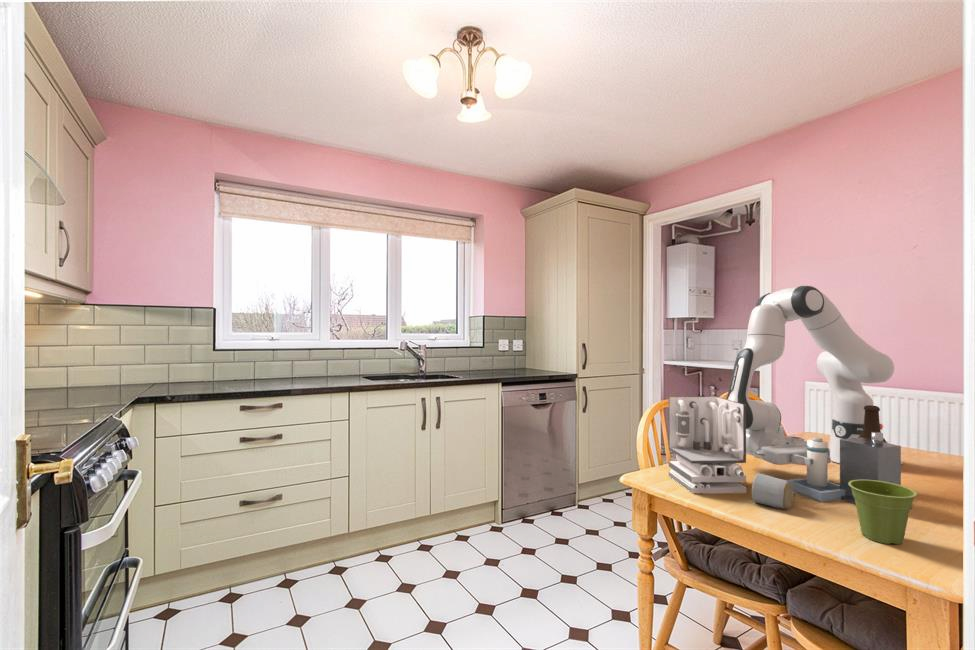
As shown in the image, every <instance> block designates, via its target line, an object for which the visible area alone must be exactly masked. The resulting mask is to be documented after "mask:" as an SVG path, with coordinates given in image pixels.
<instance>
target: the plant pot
mask: <svg viewBox="0 0 975 650" xmlns="http://www.w3.org/2000/svg"><path fill="white" fill-rule="evenodd" d="M848 485H849V486H850V487H851V489H852V493H853V496H854V498H855V503H856V505H855V507H856V512H857V517H858V523H859V526H860V531H861V534H862V535H863V536H865V538H867V539H869V540H871V541H873V542H878V543H880V544H886V545H887V544H888V545H889V544H894V545H900V544H903V543H904V540H905V534H906V530H907V524H908V519H909V515H910V510H911V509H910V507H911V508H912V505H913V503H914V502H913V501H914V498H916V497H918V493H917V492H916V491H915V490H913V489H912V488H909V487H906V486H904V485H902V484H901V485H897V484H893V483H889V482H883V481H877V480H852V481H849V483H848Z"/></svg>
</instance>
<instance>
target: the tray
mask: <svg viewBox="0 0 975 650" xmlns="http://www.w3.org/2000/svg"><path fill="white" fill-rule="evenodd" d="M785 481H787V482H789V483H791V485H792V487H793V493H795V494H799V495H800V494H801V496H804V497H806V498H810V499H811V500H813V501H817V502H819V503H827V502H834V501H842V500H841V496H845V490H844V489H840V484H838V483H835V482H831V481H829V480H828V486H825V487H820V486H814V485H810V484H808V483H807V477H805V478H795V479H794V478H793V479H786V480H785Z"/></svg>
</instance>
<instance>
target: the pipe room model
mask: <svg viewBox="0 0 975 650" xmlns="http://www.w3.org/2000/svg"><path fill="white" fill-rule="evenodd" d="M668 451H671V452H672V453H674V454H676V456H675V457H676V460H674V461H673V460H670V461H668V467H669V468H670V471H668V477H669V476H670V477H671V478H670V477H669V478H670V479H672V478H673V479H674V480H675V482H676V481H677V482H678V483H679V484H678V483H677V482H676V483H677V484H678V485H680V484H681V485H682V486H683V487H685V488H686V489H687V490H689V491H690V492H691V493H703V494H747V487H746V486H744V485H742V484H740V483H746V482H747V476H746V475H745V473H744V470H743V468H742V465H740V464H746V463H747V453H746V405H745V404H741V403H738V402H734V401H731V400H727V399H726V398H724V397H721V396H668ZM673 479H672V480H673ZM674 480H673V481H674ZM681 485H680V486H681ZM682 486H681V487H682ZM683 487H682V488H683ZM685 488H684V489H685ZM686 489H685V490H686ZM687 490H686V491H687ZM689 491H688V492H689ZM690 492H689V493H690ZM691 493H690V494H691Z"/></svg>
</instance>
